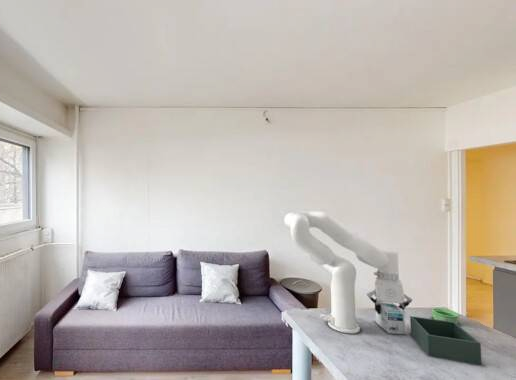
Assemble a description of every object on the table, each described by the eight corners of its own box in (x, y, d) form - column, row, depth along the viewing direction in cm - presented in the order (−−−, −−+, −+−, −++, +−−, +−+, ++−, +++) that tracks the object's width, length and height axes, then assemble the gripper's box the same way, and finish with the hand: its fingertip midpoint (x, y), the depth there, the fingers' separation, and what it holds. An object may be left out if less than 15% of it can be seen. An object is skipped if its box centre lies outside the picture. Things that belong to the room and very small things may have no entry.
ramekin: (441, 325, 122) (440, 315, 122) (427, 316, 131) (427, 307, 131) (464, 326, 120) (464, 317, 120) (449, 317, 129) (448, 308, 129)
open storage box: (428, 355, 100) (427, 335, 100) (410, 333, 115) (410, 316, 115) (481, 365, 94) (480, 343, 94) (455, 340, 109) (454, 322, 109)
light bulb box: (405, 335, 114) (404, 310, 114) (388, 333, 116) (387, 309, 116) (391, 322, 125) (390, 300, 125) (375, 321, 126) (374, 299, 126)
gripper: (367, 276, 121) (368, 314, 120) (415, 280, 114) (417, 321, 113) (363, 271, 127) (364, 308, 127) (408, 275, 120) (410, 313, 120)
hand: (389, 314), depth 120 cm, fingers open, 7 cm apart
